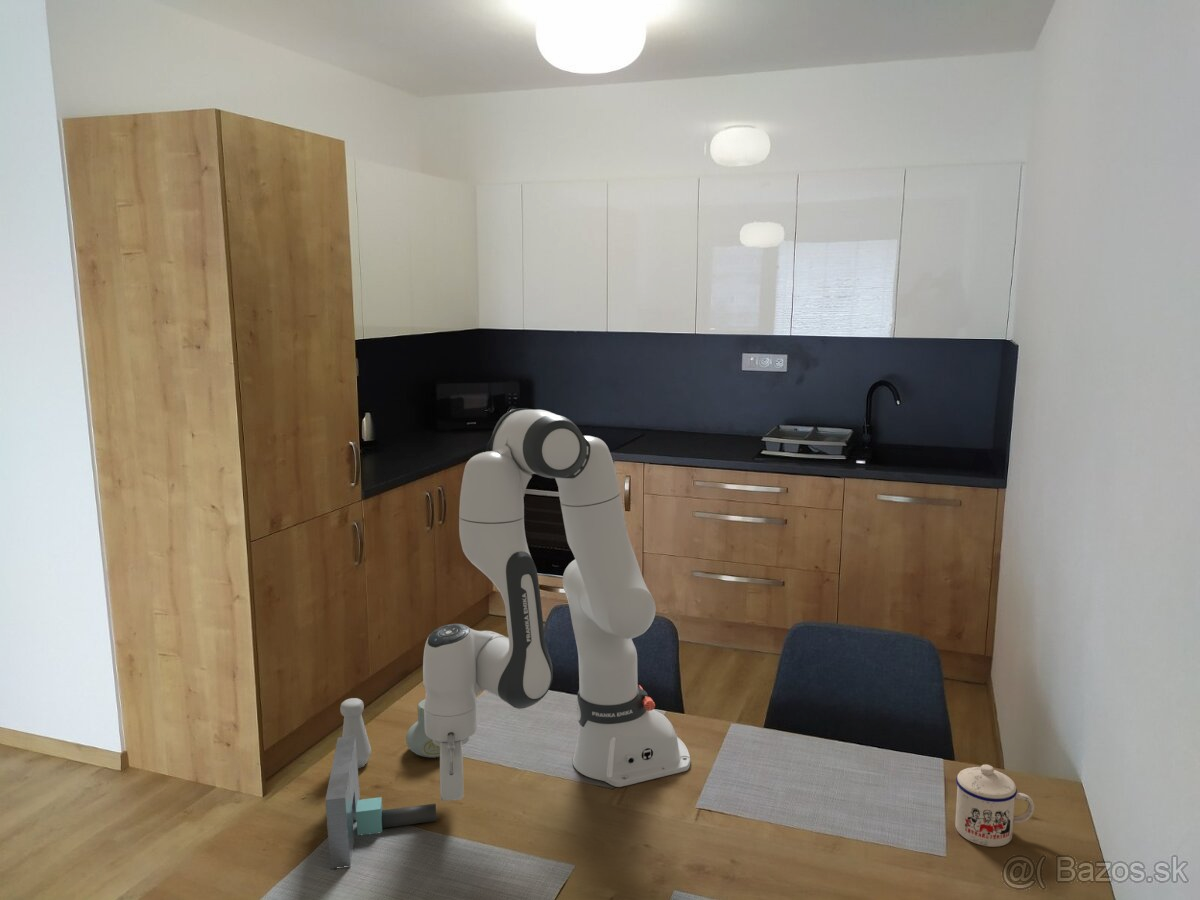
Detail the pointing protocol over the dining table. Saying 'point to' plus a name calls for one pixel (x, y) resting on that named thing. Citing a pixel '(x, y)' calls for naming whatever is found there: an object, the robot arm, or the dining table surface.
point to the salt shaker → (356, 728)
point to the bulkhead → (342, 802)
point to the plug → (389, 815)
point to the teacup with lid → (987, 806)
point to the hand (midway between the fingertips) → (452, 795)
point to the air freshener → (421, 737)
